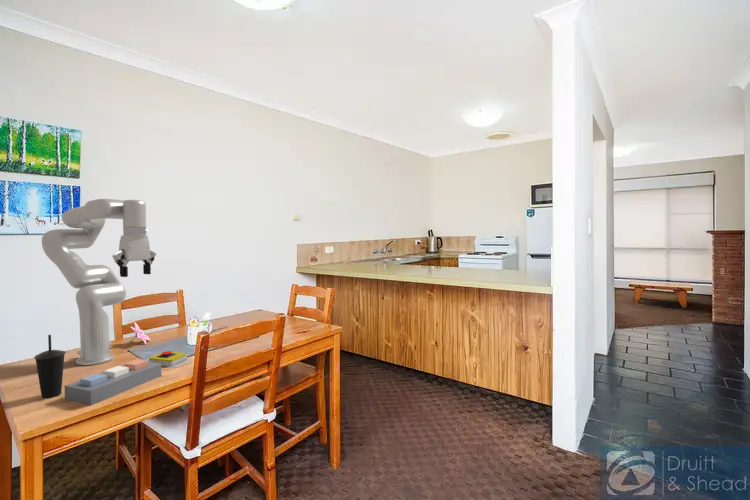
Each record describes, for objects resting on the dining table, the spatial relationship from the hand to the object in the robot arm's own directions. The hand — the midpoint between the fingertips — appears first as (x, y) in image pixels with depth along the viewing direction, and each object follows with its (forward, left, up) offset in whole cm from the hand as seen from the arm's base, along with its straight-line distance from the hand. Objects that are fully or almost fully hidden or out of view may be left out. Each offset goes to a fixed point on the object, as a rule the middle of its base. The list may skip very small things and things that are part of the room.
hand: (135, 275), depth 144 cm
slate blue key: (+10, -23, -34) cm, 42 cm away
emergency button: (+6, +9, -38) cm, 39 cm away
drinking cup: (-3, -28, -37) cm, 46 cm away
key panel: (+10, -16, -37) cm, 41 cm away
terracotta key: (+10, -8, -33) cm, 36 cm away
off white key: (+10, -16, -34) cm, 38 cm away
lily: (-29, +24, -37) cm, 53 cm away
